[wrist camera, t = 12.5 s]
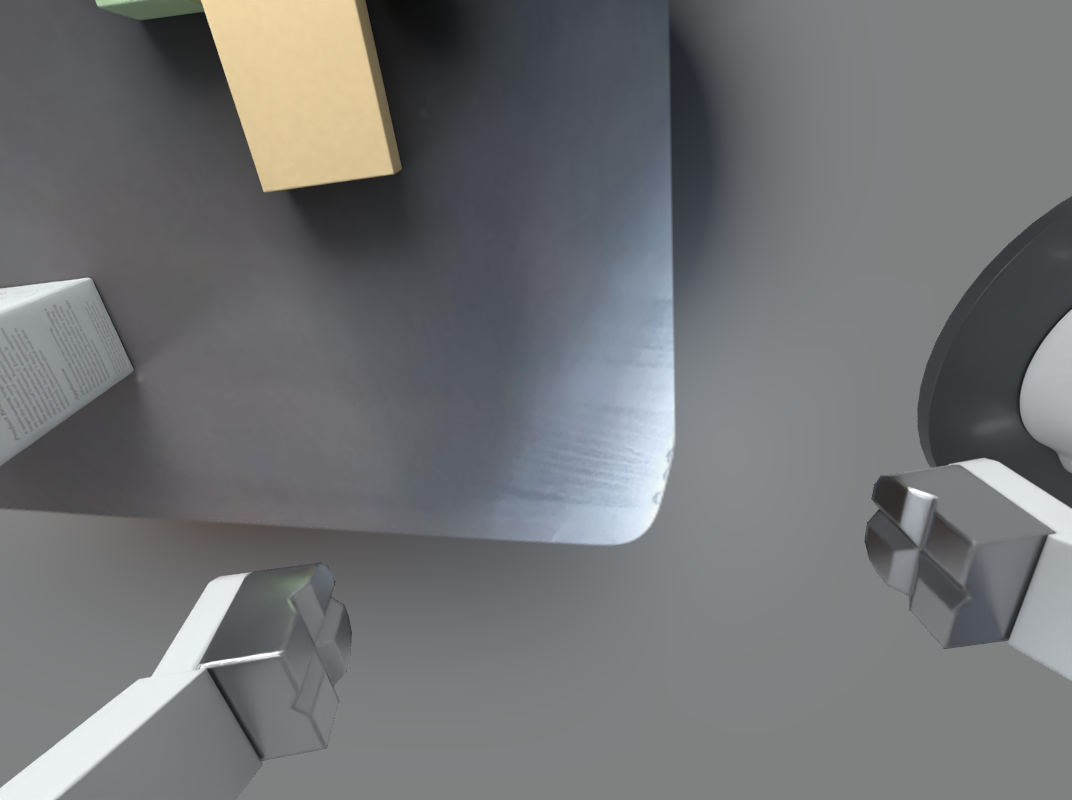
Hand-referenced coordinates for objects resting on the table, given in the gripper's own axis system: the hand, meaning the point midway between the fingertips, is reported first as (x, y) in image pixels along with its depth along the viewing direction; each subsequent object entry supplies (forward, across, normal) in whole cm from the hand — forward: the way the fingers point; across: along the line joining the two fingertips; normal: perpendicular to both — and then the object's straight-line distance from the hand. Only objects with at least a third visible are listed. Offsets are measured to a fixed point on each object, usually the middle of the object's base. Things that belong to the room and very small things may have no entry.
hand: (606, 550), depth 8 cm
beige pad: (+24, +8, -10) cm, 28 cm away
